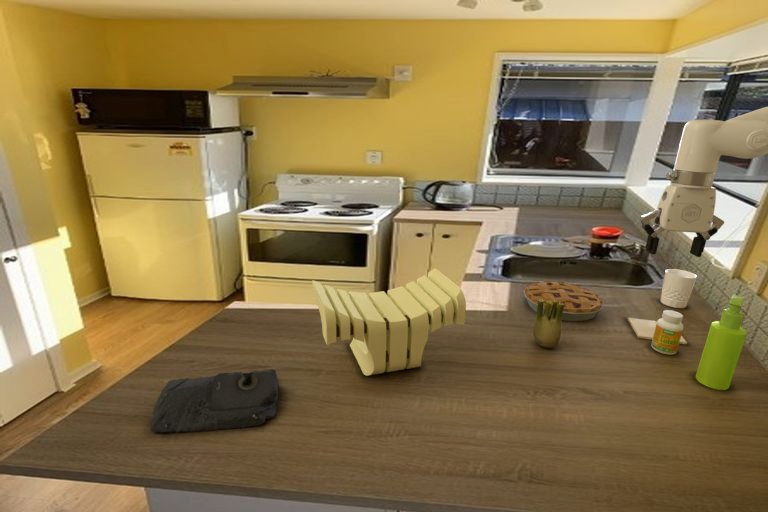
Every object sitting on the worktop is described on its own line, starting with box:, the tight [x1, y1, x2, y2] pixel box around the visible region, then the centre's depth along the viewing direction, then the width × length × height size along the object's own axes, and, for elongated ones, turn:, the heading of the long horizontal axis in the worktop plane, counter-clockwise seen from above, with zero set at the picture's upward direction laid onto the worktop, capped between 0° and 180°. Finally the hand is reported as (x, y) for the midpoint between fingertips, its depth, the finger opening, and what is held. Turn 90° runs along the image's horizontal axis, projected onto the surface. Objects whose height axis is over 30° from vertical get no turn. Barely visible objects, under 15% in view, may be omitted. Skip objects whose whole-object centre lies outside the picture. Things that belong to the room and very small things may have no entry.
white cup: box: [660, 268, 698, 309], centre depth 129 cm, size 8×8×10 cm
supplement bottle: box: [650, 309, 684, 356], centre depth 103 cm, size 5×5×10 cm
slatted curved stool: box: [311, 267, 467, 377], centre depth 94 cm, size 30×16×18 cm, turn 108°
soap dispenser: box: [695, 294, 748, 391], centre depth 88 cm, size 6×7×20 cm
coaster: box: [627, 317, 688, 345], centre depth 113 cm, size 11×11×1 cm
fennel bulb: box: [533, 300, 565, 349], centre depth 103 cm, size 6×5×12 cm
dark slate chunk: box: [149, 368, 279, 434], centre depth 80 cm, size 15×22×5 cm
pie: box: [523, 280, 604, 322], centre depth 125 cm, size 22×22×5 cm
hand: (672, 253), depth 98 cm, fingers open, 9 cm apart
